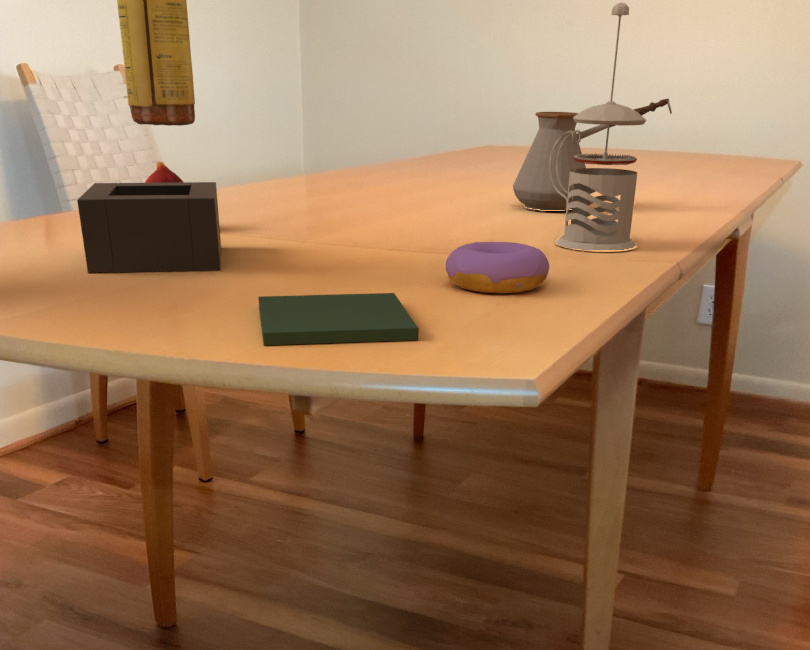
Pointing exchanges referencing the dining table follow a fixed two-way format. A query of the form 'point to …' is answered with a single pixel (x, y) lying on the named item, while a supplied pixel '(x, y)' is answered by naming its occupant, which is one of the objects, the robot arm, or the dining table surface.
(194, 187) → the black open-top box
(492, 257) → the donut
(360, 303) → the mat
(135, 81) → the sauce bottle
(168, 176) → the onion
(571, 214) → the french press
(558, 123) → the coffee pot
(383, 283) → the dining table surface
